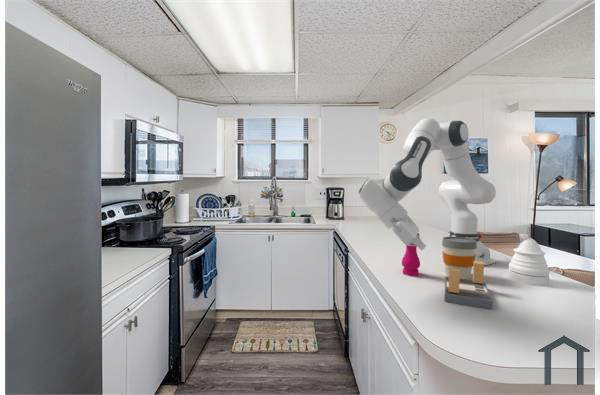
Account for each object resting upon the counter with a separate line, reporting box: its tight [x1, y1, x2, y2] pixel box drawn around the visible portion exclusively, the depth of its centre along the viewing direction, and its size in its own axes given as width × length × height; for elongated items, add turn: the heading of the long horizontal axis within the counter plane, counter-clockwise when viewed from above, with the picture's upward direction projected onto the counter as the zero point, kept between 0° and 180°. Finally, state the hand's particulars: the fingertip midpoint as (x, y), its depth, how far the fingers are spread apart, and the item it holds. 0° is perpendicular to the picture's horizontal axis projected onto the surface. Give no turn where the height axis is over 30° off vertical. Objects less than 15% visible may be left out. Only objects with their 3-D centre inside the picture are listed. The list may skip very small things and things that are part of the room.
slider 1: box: [448, 268, 460, 293], centre depth 99 cm, size 3×3×7 cm
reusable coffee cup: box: [441, 236, 477, 280], centre depth 125 cm, size 13×13×15 cm
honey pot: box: [507, 233, 550, 287], centre depth 120 cm, size 13×13×18 cm
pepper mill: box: [401, 232, 421, 277], centre depth 126 cm, size 7×7×20 cm
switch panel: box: [444, 275, 494, 310], centre depth 104 cm, size 13×20×3 cm, turn 155°
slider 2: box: [472, 261, 485, 284], centre depth 109 cm, size 3×3×7 cm
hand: (423, 248), depth 103 cm, fingers closed
